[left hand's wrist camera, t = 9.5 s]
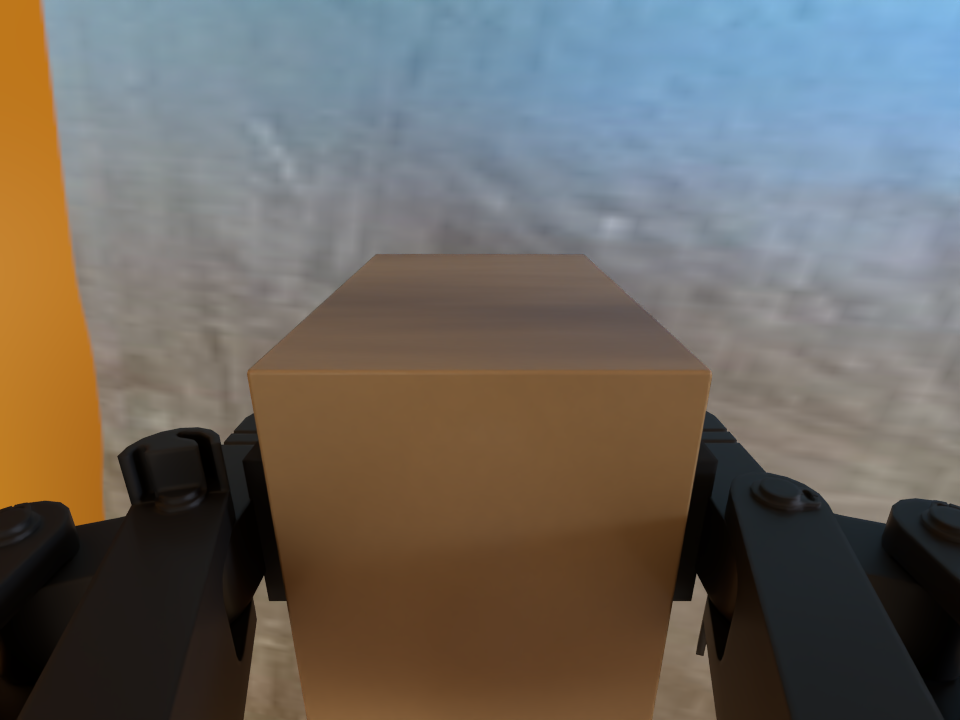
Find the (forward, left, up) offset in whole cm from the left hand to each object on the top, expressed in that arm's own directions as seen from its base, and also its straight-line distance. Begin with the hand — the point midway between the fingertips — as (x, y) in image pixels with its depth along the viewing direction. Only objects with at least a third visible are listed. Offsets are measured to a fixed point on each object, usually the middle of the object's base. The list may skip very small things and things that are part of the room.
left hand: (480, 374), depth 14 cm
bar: (+12, +7, -1) cm, 14 cm away
